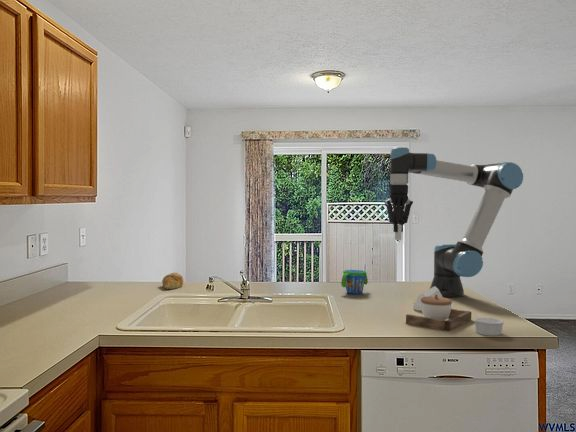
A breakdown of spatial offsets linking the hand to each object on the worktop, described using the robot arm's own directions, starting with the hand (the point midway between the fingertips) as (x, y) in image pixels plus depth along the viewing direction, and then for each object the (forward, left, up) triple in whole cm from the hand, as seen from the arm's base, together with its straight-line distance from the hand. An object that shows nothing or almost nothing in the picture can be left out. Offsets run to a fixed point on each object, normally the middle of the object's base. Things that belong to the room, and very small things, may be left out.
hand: (398, 239), depth 213 cm
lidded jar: (+5, +34, -27) cm, 43 cm away
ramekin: (-1, +53, -27) cm, 59 cm away
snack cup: (+8, -23, -27) cm, 36 cm away
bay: (+6, +35, -26) cm, 44 cm away
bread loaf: (+86, -63, -27) cm, 110 cm away
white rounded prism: (-7, +12, -27) cm, 30 cm away
